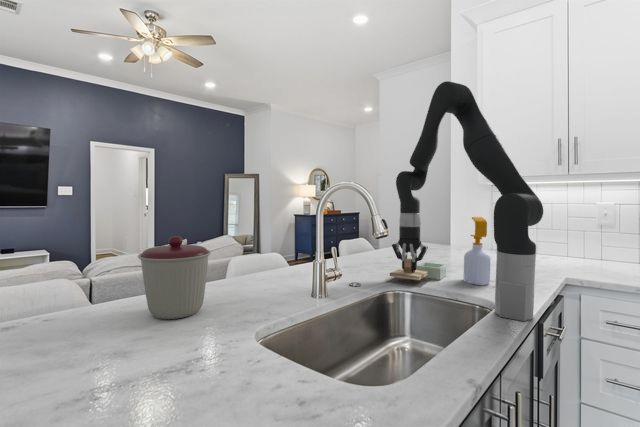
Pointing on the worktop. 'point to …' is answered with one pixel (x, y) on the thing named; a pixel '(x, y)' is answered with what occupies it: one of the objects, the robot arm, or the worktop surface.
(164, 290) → the canister
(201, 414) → the worktop surface
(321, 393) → the worktop surface
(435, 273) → the pale green open box
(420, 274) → the lid
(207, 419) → the worktop surface
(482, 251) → the soap bottle
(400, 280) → the mat
